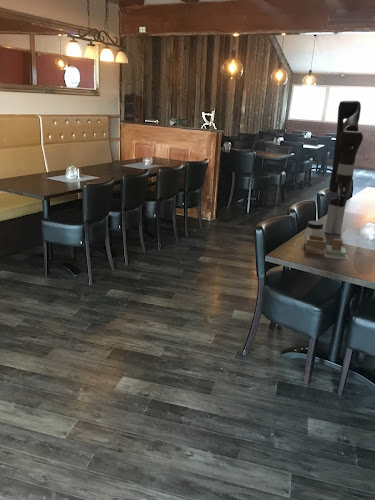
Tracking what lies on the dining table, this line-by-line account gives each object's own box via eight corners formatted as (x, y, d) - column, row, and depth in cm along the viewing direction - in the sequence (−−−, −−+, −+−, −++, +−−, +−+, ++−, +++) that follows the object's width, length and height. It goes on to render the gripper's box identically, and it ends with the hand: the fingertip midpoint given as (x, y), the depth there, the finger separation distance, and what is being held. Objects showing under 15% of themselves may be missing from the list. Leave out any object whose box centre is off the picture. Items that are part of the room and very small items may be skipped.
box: (305, 247, 220) (307, 234, 218) (323, 249, 218) (325, 237, 216) (305, 252, 212) (307, 239, 210) (323, 255, 210) (325, 242, 207)
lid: (325, 248, 218) (327, 235, 215) (344, 251, 215) (346, 238, 213) (326, 254, 209) (328, 241, 207) (345, 257, 207) (348, 243, 204)
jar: (318, 241, 230) (321, 221, 226) (322, 246, 223) (326, 225, 219) (302, 240, 230) (305, 220, 226) (306, 245, 223) (309, 224, 219)
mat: (323, 248, 220) (323, 247, 220) (345, 250, 218) (345, 250, 218) (324, 257, 207) (324, 256, 207) (347, 260, 204) (347, 259, 204)
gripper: (336, 169, 211) (331, 200, 217) (338, 175, 198) (333, 207, 204) (351, 171, 209) (346, 202, 215) (354, 176, 196) (348, 209, 202)
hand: (339, 204), depth 210 cm, fingers open, 8 cm apart
